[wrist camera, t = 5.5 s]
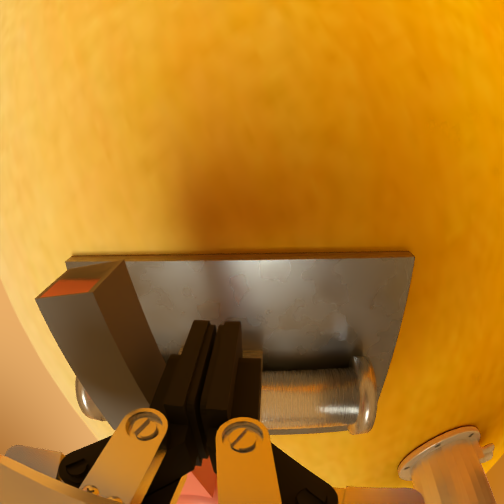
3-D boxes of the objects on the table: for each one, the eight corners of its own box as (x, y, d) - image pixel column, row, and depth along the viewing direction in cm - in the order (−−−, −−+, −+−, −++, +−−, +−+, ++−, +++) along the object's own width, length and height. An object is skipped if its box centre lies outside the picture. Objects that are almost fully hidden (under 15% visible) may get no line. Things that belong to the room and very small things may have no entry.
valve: (409, 251, 19) (486, 337, 10) (365, 420, 26) (384, 502, 17) (72, 256, 20) (-11, 327, 11) (129, 414, 27) (100, 488, 18)
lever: (244, 487, 15) (241, 518, 13) (189, 485, 15) (183, 515, 13) (141, 254, 9) (108, 293, 7) (59, 269, 10) (21, 302, 7)
